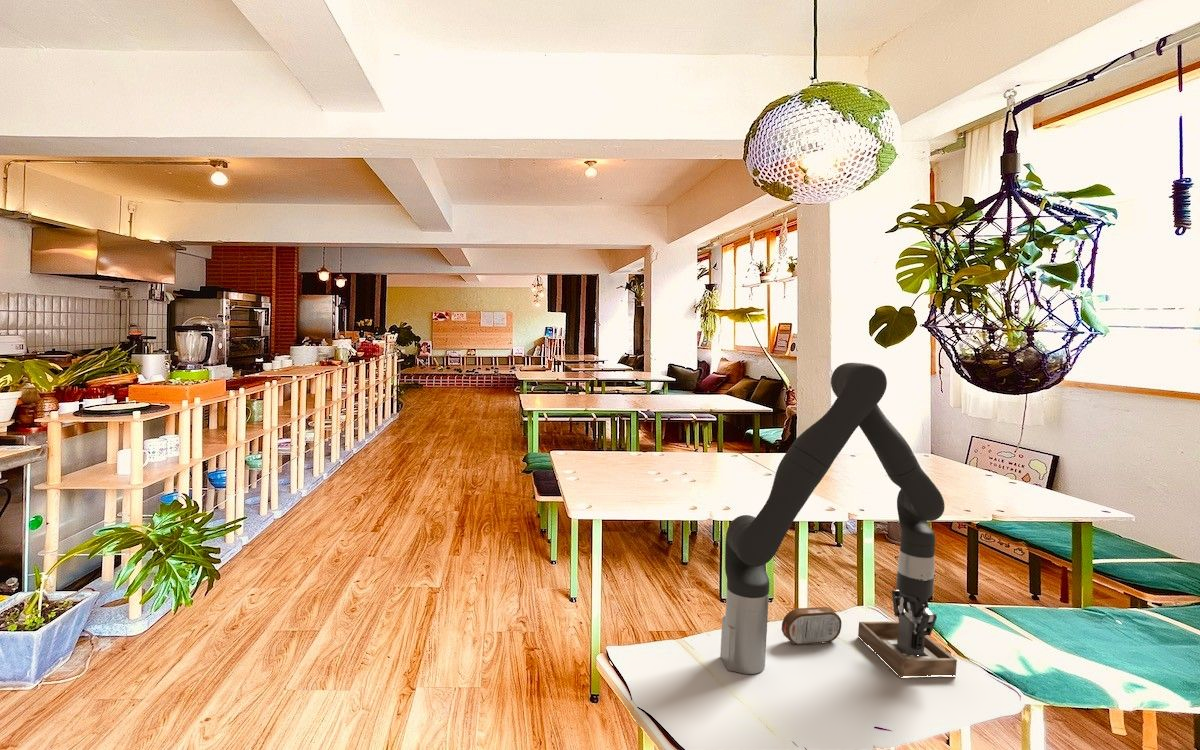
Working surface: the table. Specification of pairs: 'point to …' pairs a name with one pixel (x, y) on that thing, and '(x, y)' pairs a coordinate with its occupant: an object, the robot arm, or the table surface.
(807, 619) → the tin
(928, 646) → the box
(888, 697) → the table surface
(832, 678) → the table surface
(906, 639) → the connector
